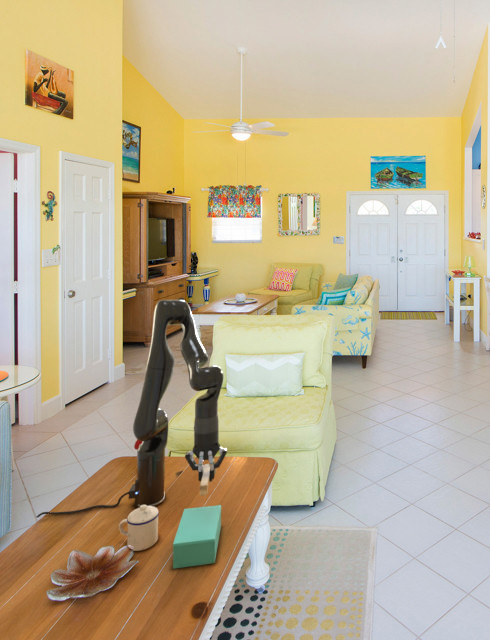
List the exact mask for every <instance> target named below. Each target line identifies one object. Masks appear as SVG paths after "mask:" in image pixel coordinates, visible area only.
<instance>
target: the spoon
mask: <svg viewBox="0 0 490 640" xmlns="http://www.w3.org/2000/svg"><path fill="white" fill-rule="evenodd" d="M203 469H204V472H203V475H202V479H201V481H200V484H199V496H200V497H201V496H208V494H209V493H208V492H209V488H210V484H211V482H210V464H209V463H205V464H203ZM217 473H218V468H215V475H216V474H217Z"/></svg>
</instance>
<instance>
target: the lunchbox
mask: <svg viewBox="0 0 490 640" xmlns="http://www.w3.org/2000/svg"><path fill="white" fill-rule="evenodd" d="M221 528H222V509H221V510H220V516H219V521H218V526H217V532H216V537H215V541H214V542H206V543H198V544H190V545H182V546H174V547H173V546H172V551H173V552H172V569H182V568H189V567H195V566H204V565H212V564H215V563H216V557H217V552H218V545H219V540H220V535H221Z"/></svg>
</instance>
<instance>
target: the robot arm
mask: <svg viewBox="0 0 490 640" xmlns="http://www.w3.org/2000/svg"><path fill="white" fill-rule="evenodd" d="M168 326H180V327H181V328H182V331H183V332H182V336H181V340H180V344H179V345H180V346H179V348H180V353H181V355H182V357H183V360H184V362H185V364H186V367H187V371H188V372H187V373H188V382H189V383H188V384H189V386H190V388H191V389H192V390H193V391H195V392H202V391H206V392H205V393H203V394H202V395H200V396H198V397H197V398H196V399H195V401H194V402H195V403H194V406H195V407H194V423H193V438H194V439H193V447H192V449H191V450H189V451H186V452H185V455H184V458H185V460H186V462H187V463H188V465H189V466H190V469H191V470H192V471H193V472H195V471H197V475H198V476H197V477H198V479H197V480H198V482H201V479H202V475H203V472H204V469H203V465H204V461H208V464H210V483H212V482H213V480H214V479H215V475H216V474H215V468H217V469H219V468H220V467H221V464H222V463H223V461H224V459H225V458H226V455H227V453H228V448H227V447H222V446H221V444H220V443H219V442H220V441H219V438H220V437H219V436H220V435H219V433H220V432H219V430H220V429H219V426H220V425H219V424H220V423H219V422H220V421H219V398H220V394H221V391H222V387H223V383H224V377H225V376H224V371H223V368H221V366H220V365H210V366H206V365H207V364H208V362H209V356H208V353H207V351H206V349H205V347H204V346H203V344H202V342H201V339H200V337H199V334H198V331H197V327H196V324H195V320H194V317H193V314H192V311H191V307H190V305H189V304H188V302H187V301H185V300H184V299H160V300H158V302H157V303H156V304H155V307H154V311H153V318H152V329H151V340H150V345H149V351H148V355H147V356H148V357H147V361H146V366H145V371H144V377H143V383H142V387H141V388H142V389H141V393H140V394H141V395H140V399H139V403H138V407H137V411H136V413H135V416H134V420H133V423H132V424H133V425H132V431H133V435H134V437H135V439H136V440H137V439H138V440H139V441H143V442H142V444H141V445H140V447H139V448H138V450H136V451H137V452H136V457H137V458H136V478H135V481H134V483H132V485H131V487H130V489H129V490H128V491H127V492H125V493H123V494H122V495H120V497H119V498H118V500H117V503H115V504H113V505H107V504H97V505H92V506H89V507H85V508H82V509H77V510H69V511H56V512H55V511H42V512H40V513H39V514H37V515H36V516H35V518H40V517H41V516H43V515H51V516H53V515H54V516H55V515H70V514H76V513H82V512H85V511H89V510H92V509H93V510H94V509H99V508H106V509H107V508H109V509H110V508H115V507H118V506H119V505H120V503H121V500H122V499H123V498H124V497H125V496H127V495H128V500H132V499H134V508H140V506H141V505H146V506H153V507H157V506H159V505H161V504H162V503H164V501H165V498H166V497H165V495H166V494H165V478H166V476H165V475H166V474H165V473H166V472H165V471H166V470H165V469H166V448H167V444H168V440H169V417H168V414H167V412H166V411H165V410H164V409H162V408H160V405H161V401H162V399H163V397H164V395H165V393H166V392H167V390H168V388H169V386H170V383H171V381H172V378H173V374H174V368H175V363H176V361H175V356H174V353H173V351H172V349H171V347H170V346H169V343H168V341H167V329H168ZM205 366H206V367H205ZM218 452H219V453H218ZM217 454H218V455H219V457H218V459H217V461H216V462H215V456H216V455H217ZM194 456H195V457H196V458H197V460H198V463H197V462H196V459H194ZM50 512H51V513H50ZM48 513H49V514H48Z"/></svg>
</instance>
